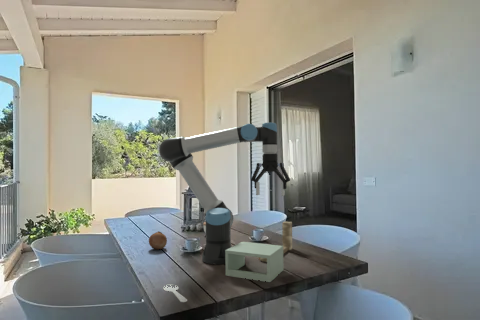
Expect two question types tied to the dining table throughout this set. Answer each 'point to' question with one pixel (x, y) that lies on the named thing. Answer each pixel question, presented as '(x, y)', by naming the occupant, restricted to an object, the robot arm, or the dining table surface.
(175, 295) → the white fork
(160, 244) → the onion
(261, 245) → the cubby
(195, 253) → the dining table surface
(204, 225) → the lidded jar
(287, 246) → the tan tall part
